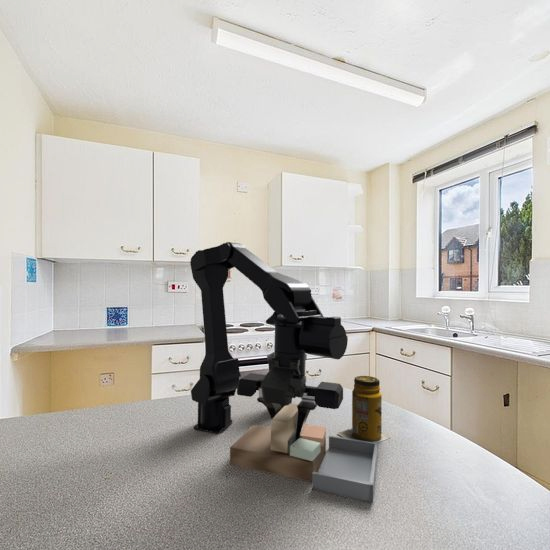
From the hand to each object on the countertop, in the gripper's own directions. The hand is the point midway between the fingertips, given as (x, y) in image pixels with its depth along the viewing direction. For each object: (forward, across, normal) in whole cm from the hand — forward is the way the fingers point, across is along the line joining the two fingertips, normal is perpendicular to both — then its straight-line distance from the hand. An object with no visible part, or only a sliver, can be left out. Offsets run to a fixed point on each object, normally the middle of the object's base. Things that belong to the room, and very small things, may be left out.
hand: (288, 437), depth 60 cm
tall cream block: (0, 0, 0) cm, 1 cm away
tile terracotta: (+1, +4, +3) cm, 5 cm away
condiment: (+4, +12, +15) cm, 20 cm away
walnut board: (+4, -2, 0) cm, 4 cm away
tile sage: (+1, +4, -3) cm, 5 cm away
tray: (+4, +11, 0) cm, 11 cm away
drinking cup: (+4, -9, +23) cm, 25 cm away
